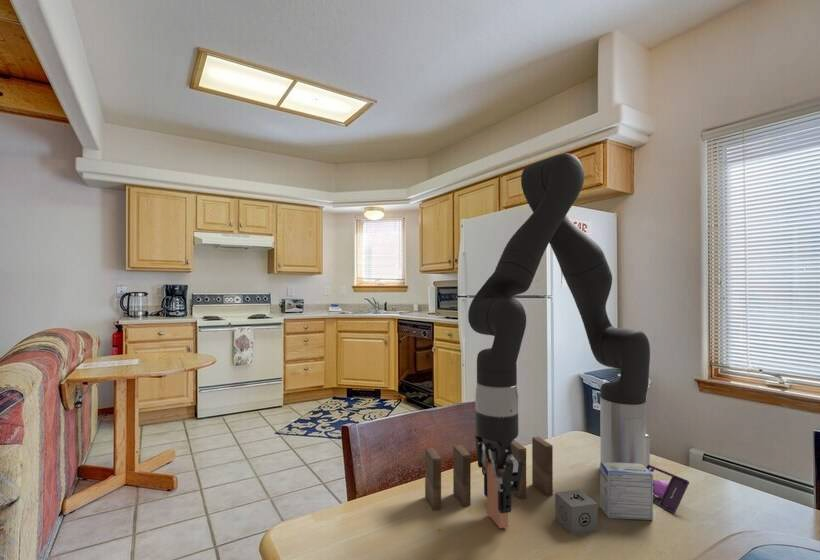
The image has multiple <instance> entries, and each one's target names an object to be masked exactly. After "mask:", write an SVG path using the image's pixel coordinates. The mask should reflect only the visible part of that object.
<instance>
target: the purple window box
mask: <svg viewBox="0 0 820 560" xmlns="http://www.w3.org/2000/svg"><path fill="white" fill-rule="evenodd" d="M646 468H647V469H648V470H649V469H650V470H649V471H650V472H651V473H654V471H657V472H660V473H662V474H665V475H667V476H670V477H671V478H670V480H669V482H668V481H665V480H662V479H654V478H653V505H654V504H655V505H656V506H659V507H660V508H662V509H663V510H666V511H668V512H670V513H672V514H674V515H675V514H676V513H677V510H678V508H679V506H680V503H681V502H682V499H683V498H684V495H685V493H686V491H687V489H688V486H689V484H690V481H689V480H687V479H684V478H683V477H680V476H678V475H675V474H673V473H670V472H668V471H666V470H663V469H661V468H658V467H656V466H653V465H651V464H650V465H647V467H646ZM656 496H657V497H659V498H661V499H660V501H659V503H658V502H656V501H655V500H656Z"/></svg>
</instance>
